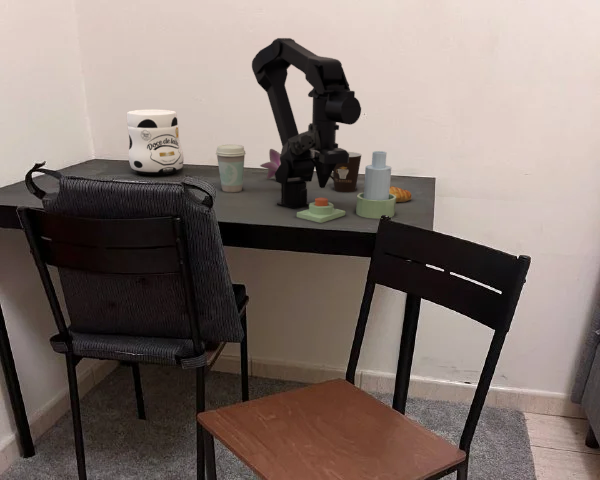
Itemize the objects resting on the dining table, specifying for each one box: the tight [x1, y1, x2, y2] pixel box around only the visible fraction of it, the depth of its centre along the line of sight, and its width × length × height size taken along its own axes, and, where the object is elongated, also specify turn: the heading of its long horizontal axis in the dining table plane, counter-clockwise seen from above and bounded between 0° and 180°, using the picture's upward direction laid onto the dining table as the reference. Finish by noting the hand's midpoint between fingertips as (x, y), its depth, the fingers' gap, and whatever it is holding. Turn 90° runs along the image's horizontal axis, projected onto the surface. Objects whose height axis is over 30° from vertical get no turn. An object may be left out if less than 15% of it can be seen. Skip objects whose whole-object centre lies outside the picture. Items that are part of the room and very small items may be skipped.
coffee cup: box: [215, 144, 247, 193], centre depth 178 cm, size 8×8×12 cm
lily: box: [259, 148, 281, 180], centre depth 190 cm, size 12×12×10 cm
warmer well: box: [355, 191, 397, 220], centre depth 160 cm, size 10×10×4 cm
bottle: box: [363, 150, 392, 200], centre depth 157 cm, size 6×6×14 cm
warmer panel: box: [296, 201, 346, 224], centre depth 157 cm, size 8×10×3 cm
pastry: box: [389, 185, 412, 203], centre depth 173 cm, size 9×7×4 cm
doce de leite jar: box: [126, 109, 185, 176], centre depth 196 cm, size 17×17×18 cm
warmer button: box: [314, 197, 329, 206], centre depth 156 cm, size 3×3×2 cm
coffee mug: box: [330, 151, 362, 193], centre depth 182 cm, size 12×9×10 cm
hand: (322, 187), depth 154 cm, fingers closed
